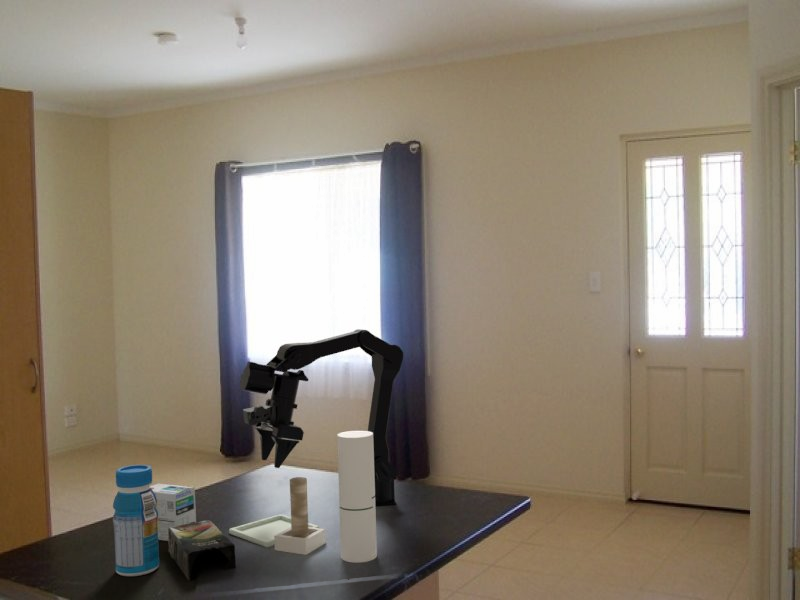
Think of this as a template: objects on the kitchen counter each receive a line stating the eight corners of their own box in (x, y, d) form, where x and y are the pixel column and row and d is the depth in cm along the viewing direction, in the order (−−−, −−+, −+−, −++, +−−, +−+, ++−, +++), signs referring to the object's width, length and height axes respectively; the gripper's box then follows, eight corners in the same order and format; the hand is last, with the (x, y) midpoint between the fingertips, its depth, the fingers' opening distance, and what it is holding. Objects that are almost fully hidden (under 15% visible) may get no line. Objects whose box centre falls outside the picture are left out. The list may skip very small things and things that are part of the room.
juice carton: (164, 551, 165) (164, 522, 165) (211, 543, 170) (210, 515, 170) (186, 584, 148) (186, 551, 147) (238, 574, 152) (237, 542, 152)
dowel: (308, 542, 166) (306, 476, 165) (309, 548, 162) (307, 480, 162) (291, 544, 165) (289, 477, 165) (292, 549, 161) (290, 482, 161)
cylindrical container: (382, 554, 159) (378, 431, 158) (369, 566, 152) (365, 438, 152) (349, 551, 161) (345, 430, 161) (335, 563, 155) (331, 437, 154)
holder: (295, 541, 169) (294, 525, 169) (325, 545, 165) (325, 528, 165) (274, 552, 162) (274, 535, 162) (306, 557, 158) (305, 540, 158)
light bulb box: (197, 534, 176) (196, 486, 175) (177, 543, 170) (175, 493, 169) (160, 528, 180) (158, 482, 180) (139, 538, 174) (137, 489, 174)
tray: (281, 520, 183) (281, 514, 183) (319, 533, 173) (319, 526, 173) (229, 536, 173) (229, 528, 173) (266, 550, 164) (266, 542, 163)
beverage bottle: (116, 580, 149) (112, 475, 148) (113, 566, 157) (109, 466, 156) (162, 573, 152) (158, 470, 152) (157, 559, 160) (153, 461, 160)
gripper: (239, 387, 188) (225, 452, 187) (263, 396, 172) (249, 468, 171) (282, 394, 194) (269, 457, 192) (310, 404, 177) (296, 473, 176)
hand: (270, 463), depth 183 cm, fingers open, 9 cm apart
